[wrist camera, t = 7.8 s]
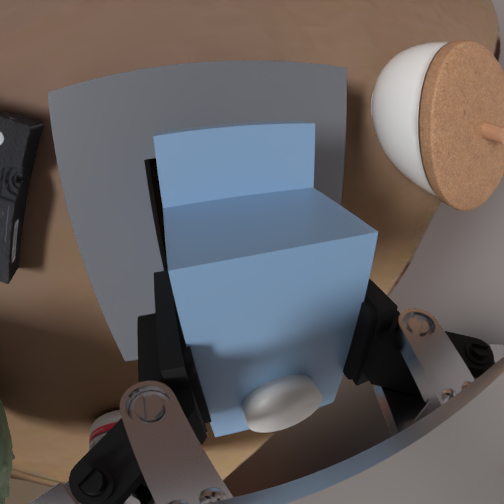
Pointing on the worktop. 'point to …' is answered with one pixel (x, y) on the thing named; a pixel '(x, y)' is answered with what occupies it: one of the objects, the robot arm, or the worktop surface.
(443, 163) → the lidded jar
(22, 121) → the disk drive
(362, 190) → the worktop surface
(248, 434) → the worktop surface
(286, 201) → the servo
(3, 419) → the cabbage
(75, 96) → the plate
